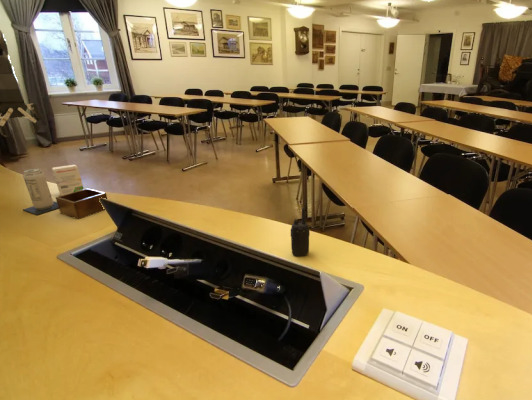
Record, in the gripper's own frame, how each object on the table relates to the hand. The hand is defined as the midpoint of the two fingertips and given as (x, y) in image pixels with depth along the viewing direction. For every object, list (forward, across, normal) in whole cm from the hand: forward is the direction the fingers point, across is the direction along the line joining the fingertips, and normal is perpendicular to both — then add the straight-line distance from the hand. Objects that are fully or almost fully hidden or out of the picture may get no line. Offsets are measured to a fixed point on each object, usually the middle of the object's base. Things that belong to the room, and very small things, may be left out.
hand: (21, 134), depth 116 cm
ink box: (+29, -14, -8) cm, 33 cm away
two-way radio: (+28, -16, +108) cm, 113 cm away
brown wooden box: (+28, -5, +18) cm, 34 cm away
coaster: (+28, +1, +2) cm, 29 cm away
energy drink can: (+28, +1, +2) cm, 28 cm away
